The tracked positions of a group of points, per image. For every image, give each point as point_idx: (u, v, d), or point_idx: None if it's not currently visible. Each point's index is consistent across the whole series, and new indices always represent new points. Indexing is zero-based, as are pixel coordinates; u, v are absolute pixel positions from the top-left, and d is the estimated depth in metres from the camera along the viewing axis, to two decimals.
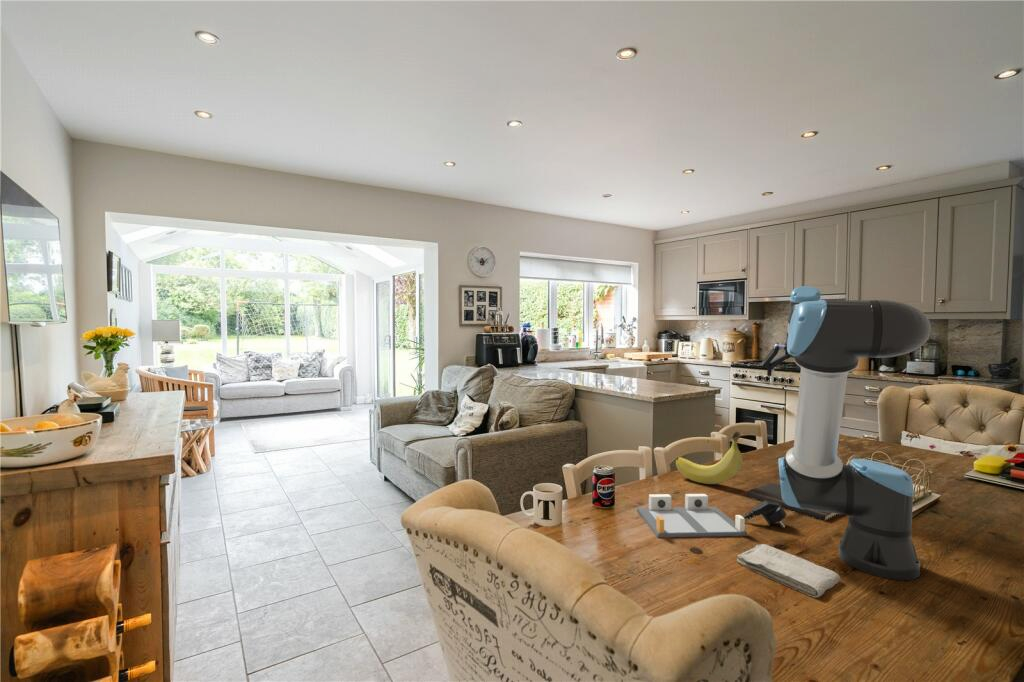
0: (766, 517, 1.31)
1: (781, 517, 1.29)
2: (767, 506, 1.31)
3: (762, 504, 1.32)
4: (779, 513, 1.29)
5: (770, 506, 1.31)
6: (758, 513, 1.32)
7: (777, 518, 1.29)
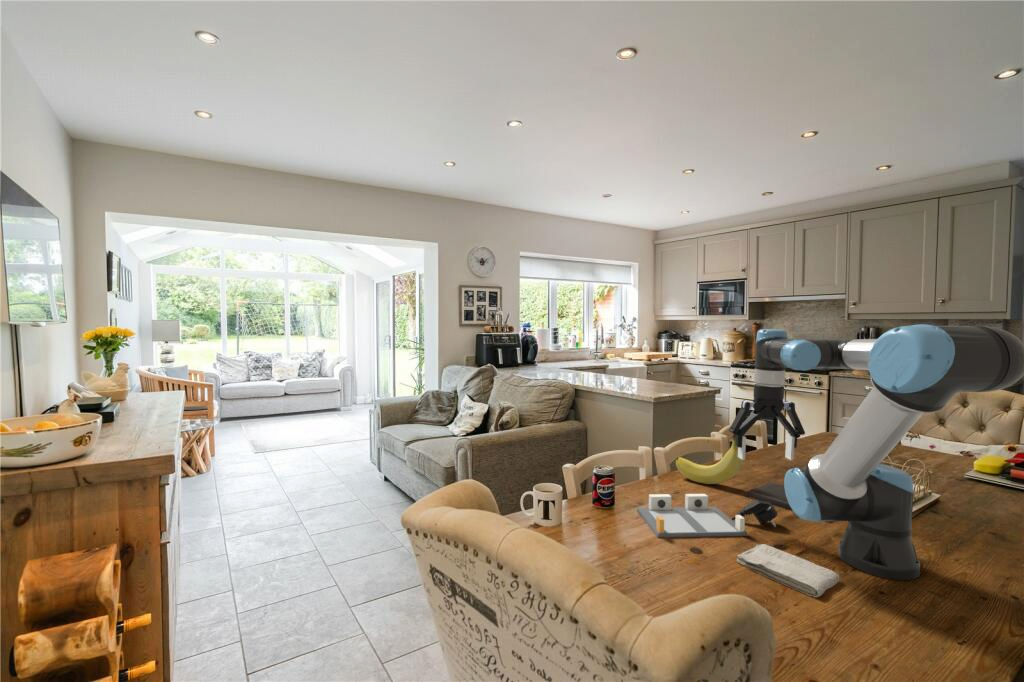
0: (757, 516, 1.31)
1: (772, 516, 1.30)
2: (758, 505, 1.31)
3: (753, 503, 1.33)
4: (770, 512, 1.30)
5: (762, 505, 1.31)
6: (749, 512, 1.32)
7: (768, 517, 1.30)
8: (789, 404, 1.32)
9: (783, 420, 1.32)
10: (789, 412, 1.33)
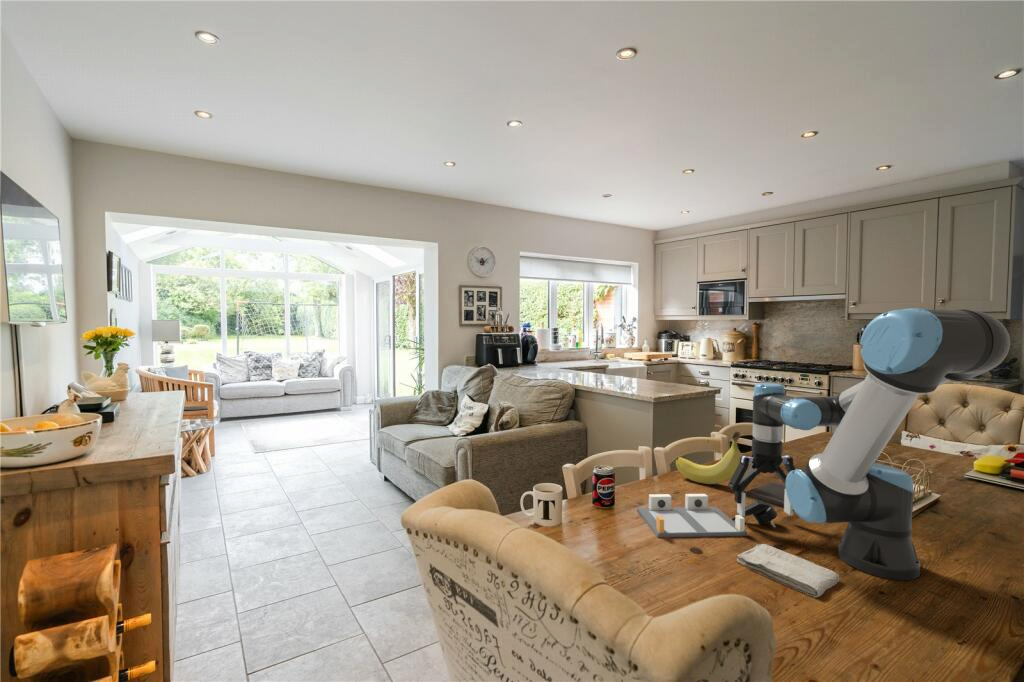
0: (757, 517, 1.31)
1: (771, 517, 1.30)
2: (758, 506, 1.32)
3: (753, 504, 1.33)
4: (769, 513, 1.30)
5: (761, 506, 1.32)
6: (749, 513, 1.32)
7: (767, 518, 1.30)
8: (787, 459, 1.31)
9: (782, 475, 1.31)
10: (787, 467, 1.32)
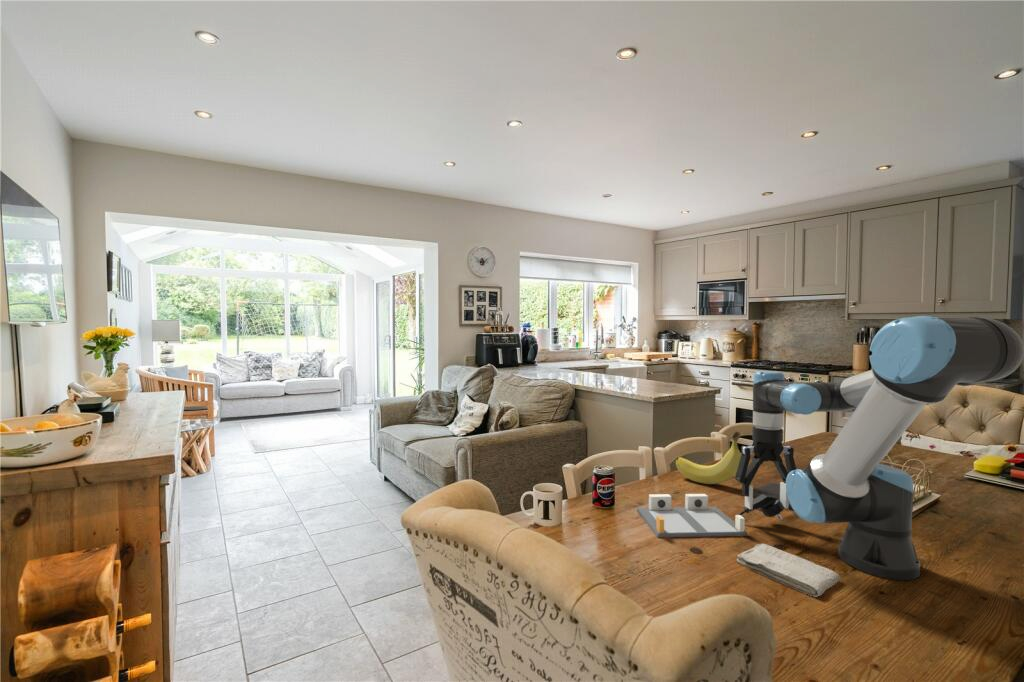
0: (765, 510, 1.31)
1: (779, 510, 1.30)
2: (765, 499, 1.31)
3: (760, 497, 1.33)
4: (777, 505, 1.30)
5: (769, 498, 1.31)
6: (757, 507, 1.32)
7: (776, 511, 1.29)
8: (788, 449, 1.31)
9: (780, 465, 1.30)
10: (786, 457, 1.32)
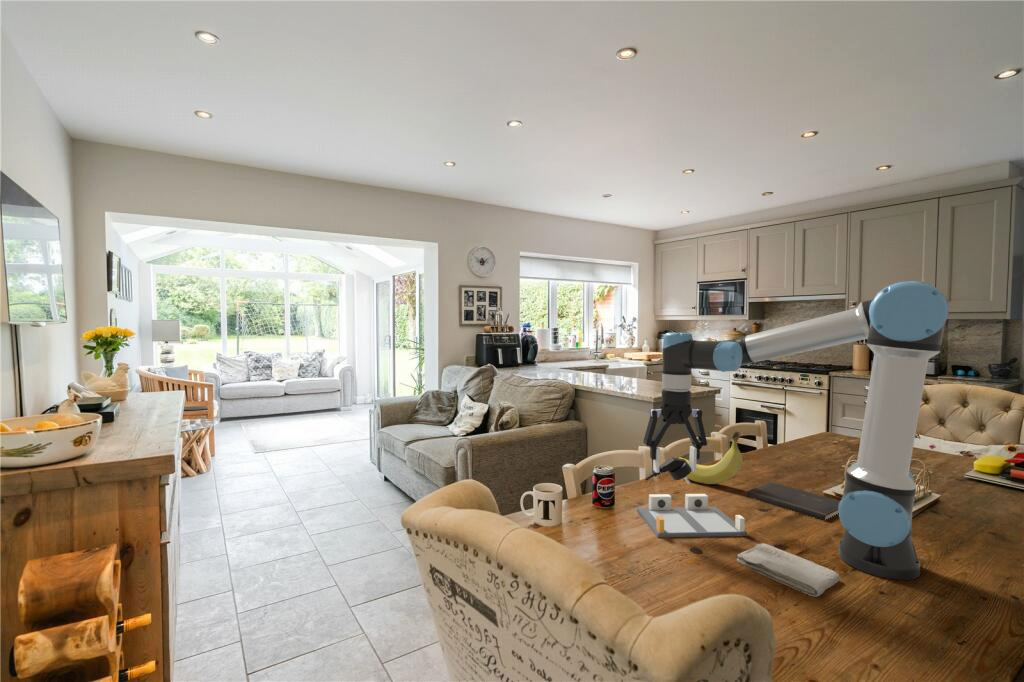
0: (672, 473, 1.29)
1: (686, 473, 1.27)
2: (673, 462, 1.29)
3: (668, 461, 1.30)
4: (684, 468, 1.27)
5: (676, 462, 1.29)
6: (664, 470, 1.29)
7: (682, 474, 1.27)
8: (697, 411, 1.28)
9: (688, 428, 1.28)
10: (695, 420, 1.29)
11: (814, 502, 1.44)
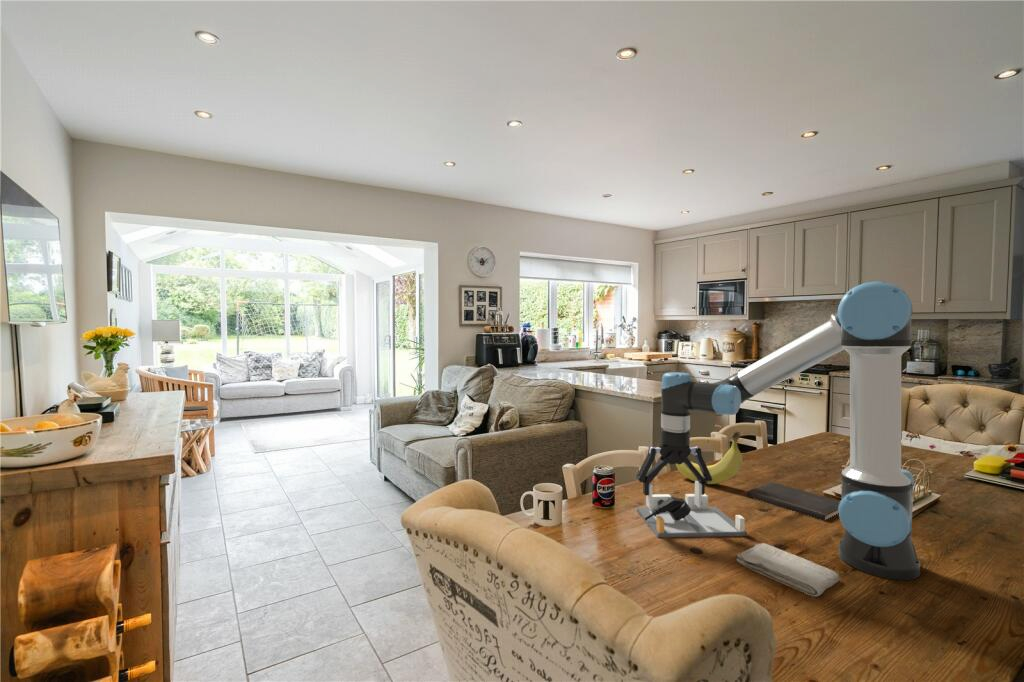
0: (671, 514, 1.29)
1: (685, 513, 1.28)
2: (672, 503, 1.29)
3: (668, 501, 1.31)
4: (683, 509, 1.28)
5: (676, 502, 1.29)
6: (664, 510, 1.30)
7: (681, 514, 1.28)
8: (696, 450, 1.29)
9: (690, 466, 1.28)
10: (696, 458, 1.29)
11: (815, 502, 1.44)
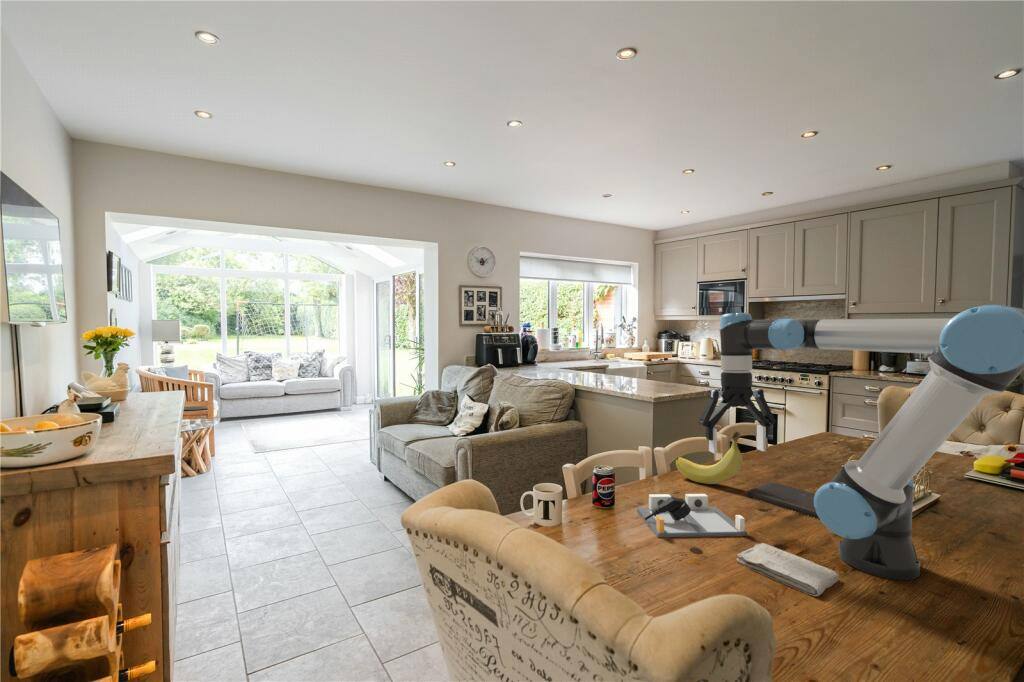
0: (671, 514, 1.29)
1: (685, 513, 1.28)
2: (672, 503, 1.29)
3: (668, 501, 1.31)
4: (683, 509, 1.28)
5: (676, 502, 1.29)
6: (664, 510, 1.30)
7: (681, 514, 1.28)
8: (758, 391, 1.26)
9: (753, 409, 1.25)
10: (758, 400, 1.26)
11: None
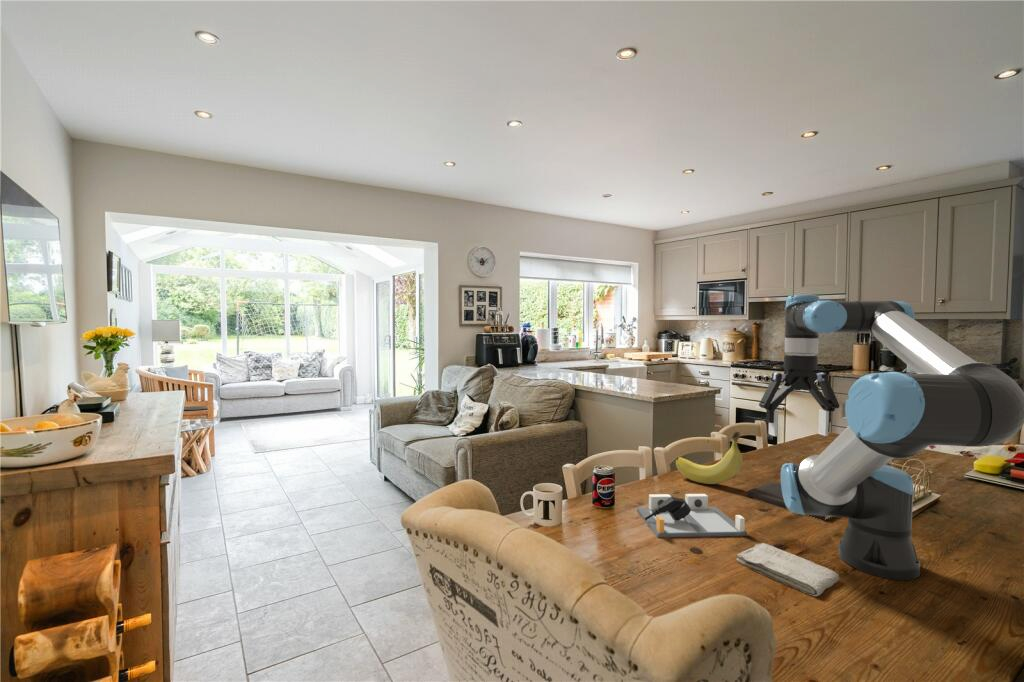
0: (671, 514, 1.29)
1: (685, 513, 1.28)
2: (672, 503, 1.29)
3: (668, 501, 1.31)
4: (683, 509, 1.28)
5: (676, 502, 1.29)
6: (664, 510, 1.30)
7: (681, 514, 1.28)
8: (822, 375, 1.23)
9: (816, 392, 1.23)
10: (822, 384, 1.24)
11: None
